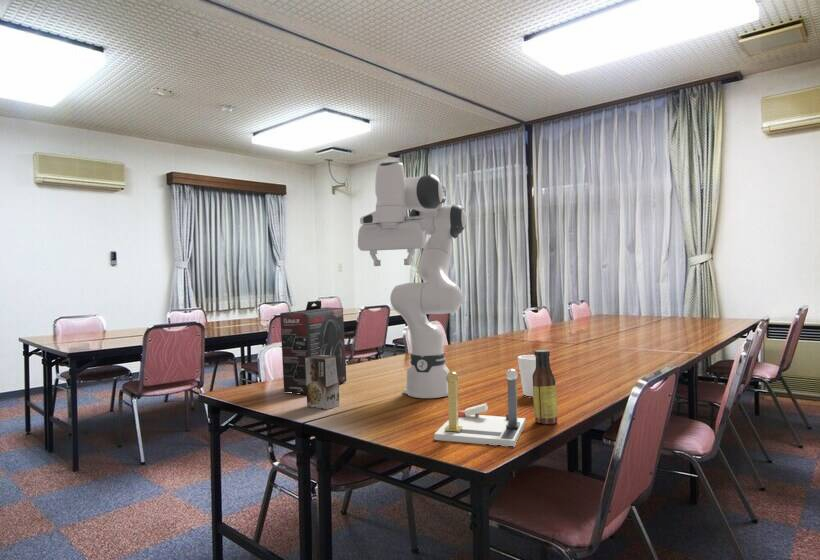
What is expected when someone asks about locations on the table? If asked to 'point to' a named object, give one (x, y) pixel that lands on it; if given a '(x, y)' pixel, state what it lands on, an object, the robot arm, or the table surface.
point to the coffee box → (322, 381)
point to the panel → (482, 430)
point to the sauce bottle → (544, 390)
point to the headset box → (310, 342)
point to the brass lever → (453, 402)
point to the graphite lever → (512, 398)
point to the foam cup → (527, 372)
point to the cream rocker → (476, 409)
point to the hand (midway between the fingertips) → (392, 265)
